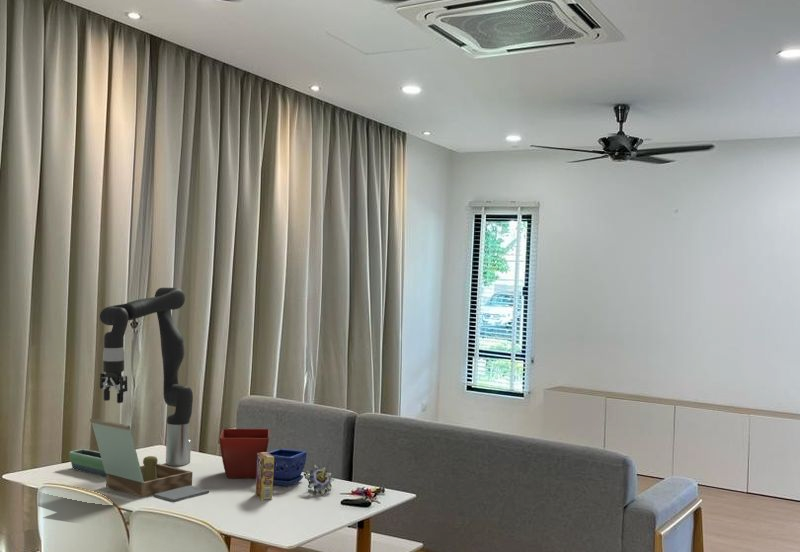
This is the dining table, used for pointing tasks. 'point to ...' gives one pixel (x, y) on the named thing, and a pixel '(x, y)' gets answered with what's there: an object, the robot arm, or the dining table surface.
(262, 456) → the candy box
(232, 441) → the plant pot
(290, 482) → the flower pot
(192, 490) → the mat
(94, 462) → the planter
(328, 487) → the passion flower
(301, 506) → the dining table surface
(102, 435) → the lid
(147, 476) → the cork
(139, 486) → the cold frame
